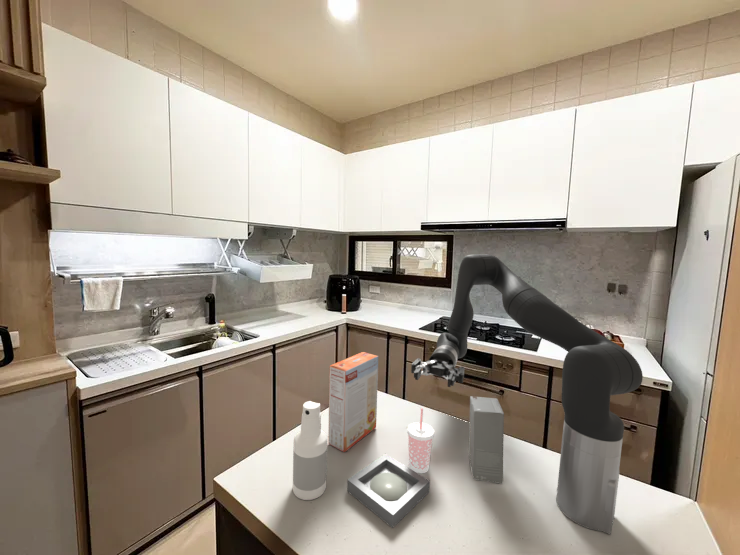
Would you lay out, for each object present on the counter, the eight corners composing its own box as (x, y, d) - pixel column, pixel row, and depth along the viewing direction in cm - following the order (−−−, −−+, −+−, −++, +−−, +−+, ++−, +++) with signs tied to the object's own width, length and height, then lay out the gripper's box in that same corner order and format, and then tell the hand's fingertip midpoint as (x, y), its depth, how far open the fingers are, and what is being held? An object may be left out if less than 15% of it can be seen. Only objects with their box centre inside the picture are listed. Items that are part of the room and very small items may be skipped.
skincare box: (503, 485, 68) (509, 415, 66) (468, 479, 69) (473, 410, 68) (495, 460, 76) (500, 397, 74) (465, 455, 77) (469, 393, 76)
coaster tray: (429, 492, 65) (429, 480, 65) (392, 528, 56) (393, 515, 56) (385, 463, 73) (385, 453, 73) (347, 490, 64) (347, 479, 64)
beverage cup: (417, 479, 68) (421, 418, 67) (400, 462, 73) (403, 405, 72) (437, 469, 72) (441, 411, 70) (419, 454, 77) (422, 399, 76)
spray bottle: (285, 494, 63) (287, 408, 61) (304, 472, 69) (306, 394, 67) (315, 505, 60) (318, 416, 59) (332, 481, 67) (334, 400, 65)
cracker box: (359, 420, 91) (362, 350, 89) (376, 428, 87) (380, 355, 85) (326, 444, 79) (328, 364, 78) (344, 453, 76) (347, 370, 74)
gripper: (421, 344, 99) (407, 360, 84) (468, 352, 93) (461, 371, 78) (420, 367, 99) (405, 387, 85) (466, 376, 94) (459, 400, 79)
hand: (432, 379), depth 81 cm, fingers open, 8 cm apart
